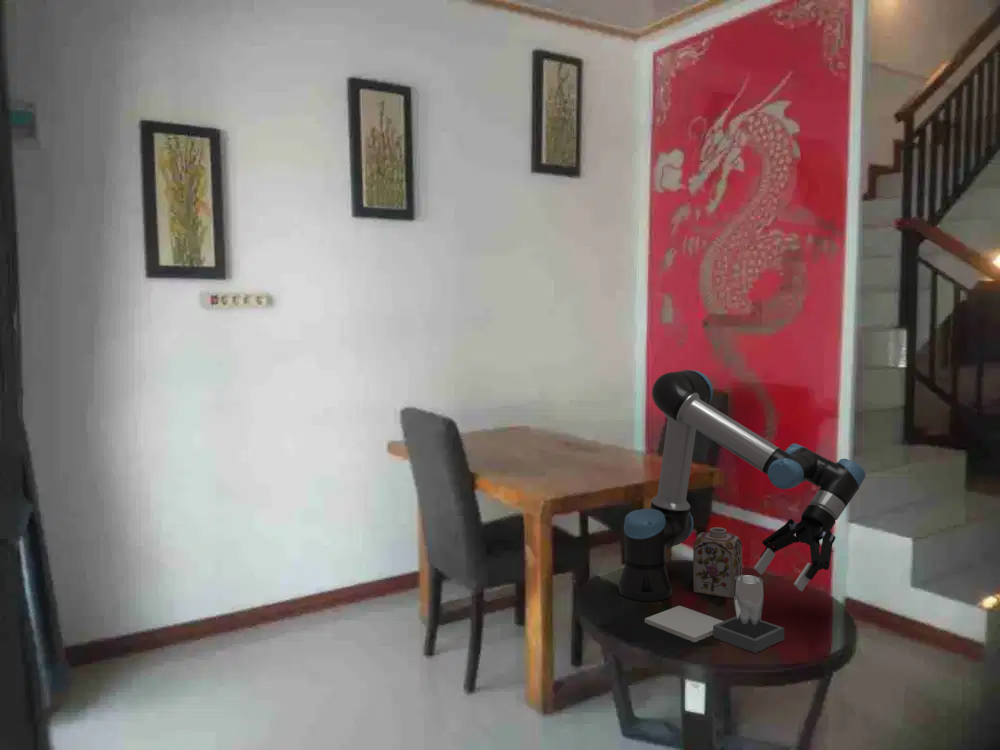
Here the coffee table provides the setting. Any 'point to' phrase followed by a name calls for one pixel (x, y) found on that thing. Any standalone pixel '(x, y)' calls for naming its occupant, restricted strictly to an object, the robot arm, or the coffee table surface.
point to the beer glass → (748, 604)
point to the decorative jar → (716, 562)
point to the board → (684, 623)
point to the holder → (728, 634)
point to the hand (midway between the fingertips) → (776, 579)
